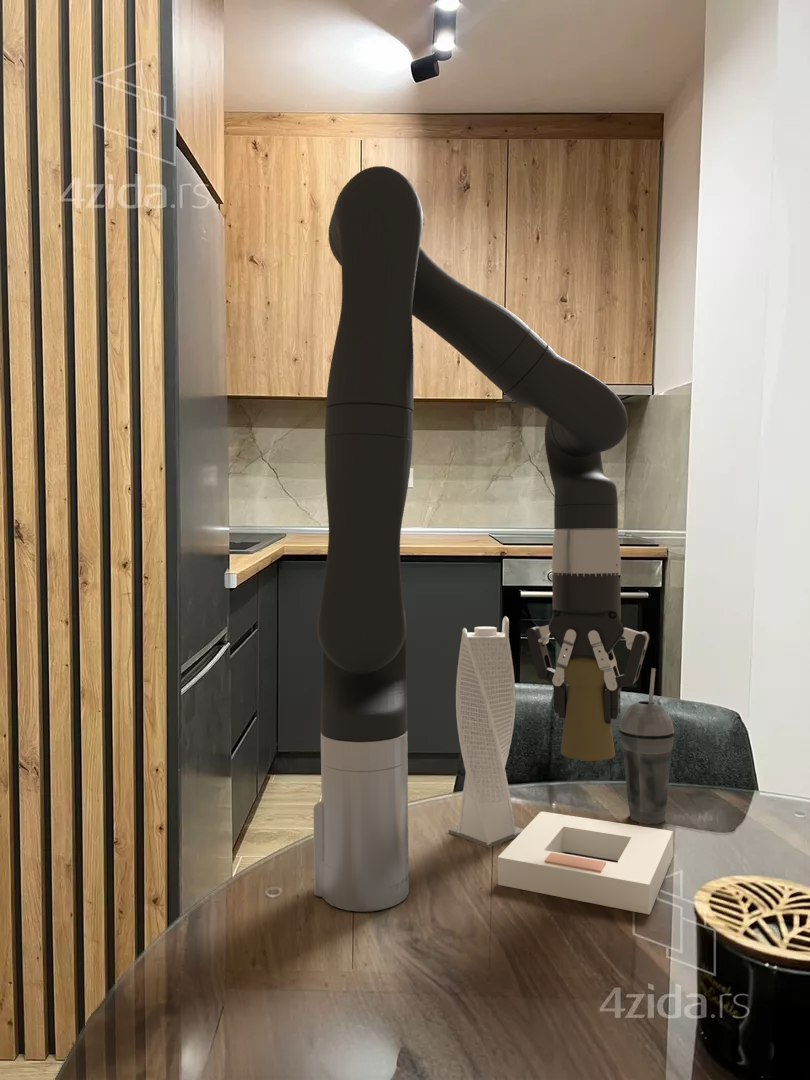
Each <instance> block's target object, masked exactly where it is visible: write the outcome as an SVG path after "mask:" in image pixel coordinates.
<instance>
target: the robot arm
mask: <svg viewBox="0 0 810 1080" xmlns="http://www.w3.org/2000/svg"><path fill="white" fill-rule="evenodd" d="M423 226H424V213H423V208H422V203H421V200H420V197H419V195H418V193H417V190H416V189H415V187H414V185H413V184H412V183H411V182H410V180H408V178H407V177H406V176H405V175H404V174H402V173H401V172H400V171H397V170H395V169H394V168H392V167H389V166H385V165H384V166H382V165H376V166H375V165H374V166H371V167H367V168H364V169H362V170H361V171H359V172H358V173H356V174H355V175H354V176H353V177H351V178H350V179H349V181H347V183H346V184H345V185H344V186H343V188H342V190H341V191H340V193H339V194H338V196H337V198H336V201H335V204H334V209H333V211H332V215H331V218H330V221H329V227H328V244H329V247H330V250H331V253H332V255H333V257H334V259H335V260H336V261H337V263H338V265H340V267H341V308H340V315H339V316H340V317H339V322H338V328H337V332H336V336H335V340H334V341H335V342H334V346H333V351H332V355H331V356H332V357H331V361H330V362H331V363H330V367H329V374H328V383H327V389H326V390H327V392H326V398H325V399H326V401H325V420H324V421H325V422H324V423H325V424H324V425H325V426H324V471H325V494H326V506H327V507H326V508H327V518H328V519H327V521H328V543H327V554H326V556H327V557H326V561H325V562H326V563H325V572H324V579H323V588H322V594H321V599H320V600H321V601H320V607H319V611H318V617H317V622H316V623H317V624H316V625H317V626H316V628H317V637H318V640H319V644H320V646H321V649H322V687H321V688H322V689H321V701H320V702H321V703H320V713H319V714H320V715H319V716H320V764H321V765H320V768H321V769H320V773H321V774H320V777H321V778H320V780H321V781H320V782H321V783H320V784H321V800H320V801H319V802H317V803H315V804H314V807H313V886H314V887H313V891H314V893H313V894H314V895H315V896H317V897H321V898H322V899H323V900H324V901H325V902H326V903H328V904H329V905H330V906H332V907H335V908H338V909H339V910H340V909H341V910H345V911H349V912H350V911H352V912H374V911H381V910H385V909H389V908H392V907H394V906H396V905H398V904H401V903H402V902H403V901H404V900H405V899H406V898H407V897H408V895H409V889H410V888H409V887H410V885H409V883H410V881H409V880H410V870H409V868H410V867H409V784H408V782H409V781H408V780H409V779H408V778H409V776H408V775H409V774H408V773H409V772H408V771H409V770H408V769H409V768H408V767H409V766H408V765H409V763H408V685H407V684H408V683H407V681H408V680H407V678H408V676H407V673H408V672H407V671H408V670H407V618H406V617H407V616H406V610H405V608H404V601H403V600H404V598H403V588H402V587H403V586H402V585H403V584H402V571H401V569H402V568H401V534H402V533H401V532H402V523H403V517H404V513H405V512H404V511H405V507H406V500H407V496H408V490H409V489H408V487H409V481H410V473H411V467H412V465H411V464H412V454H413V442H414V441H413V440H414V438H413V437H414V410H415V409H414V407H415V406H414V405H415V404H414V401H415V400H414V336H413V317H414V318H416V319H417V320H418V321H419V322H421V323H423V324H424V325H425V326H426V327H428V328H429V329H430V330H432V331H433V332H435V334H437V335H438V336H439V337H440V338H442V339H443V340H444V341H445V342H447V344H449V345H450V346H451V347H452V348H454V349H455V350H456V351H457V352H458V353H459V354H461V356H463V357H464V358H465V359H466V360H467V361H469V363H471V364H472V365H473V366H474V367H475V368H476V369H477V370H478V371H479V372H481V373H482V374H483V375H484V376H485V378H487V379H488V380H490V382H491V383H492V384H493V385H495V386H496V387H497V388H498V389H499V390H500V391H501V392H502V393H504V394H505V396H507V397H508V398H509V399H510V400H512V401H513V402H515V403H516V404H518V405H520V406H524V407H533V408H535V409H537V410H539V411H540V412H541V413H543V414H544V415H545V416H547V418H546V421H545V427H544V447H545V452H546V453H545V455H546V458H547V465H548V470H549V474H550V479H551V482H552V486H553V489H554V500H553V501H554V503H553V511H554V513H553V514H554V515H553V516H554V517H553V518H554V523H553V524H554V525H553V526H554V527H553V529H554V535H553V542H552V550H551V551H552V553H551V554H552V557H551V559H552V560H551V561H552V562H551V563H552V565H551V566H552V567H551V570H552V574H551V575H552V577H551V578H552V579H551V580H552V615H551V619H550V621H549V622H548V624H546V625H543V626H538V625H537V626H534V627H531V628H528V629H527V630H526V632H525V635H526V639H527V643H528V646H529V649H530V654H531V657H532V661H533V664H534V668H535V672H536V676H537V678H538V679H540V680H545V681H547V682H550V684H551V685H552V686H553V711H554V713H555V714H558V718H559V720H564V719H565V712H566V702H567V693H568V683H567V682H566V681H565V676H564V668H566V667H567V665H568V663H569V661H570V658H571V659H574V658H590V659H594V660H597V663H598V666H599V669H600V670H601V671H603V672H604V680H605V683H606V685H605V687H606V690H605V691H604V711H605V723H607V724H611V725H612V724H613V723H614V722H615V720H617V719H618V718H619V716H620V714H621V712H622V711H621V691H622V688H624V687H625V688H626V687H632V685H634V684H635V683H636V682H637V681H638V680H639V676H640V671H641V670H642V666H643V661H644V659H645V655H646V651H647V648H648V645H649V641H650V639H651V638H650V637H651V636H650V634H649V633H648V632H647V631H645V630H644V631H638V630H634V629H631V628H628V627H626V625H625V623H624V621H623V619H622V613H621V611H622V610H621V609H622V608H621V607H622V605H621V603H622V602H621V600H622V599H621V593H622V591H621V589H622V587H621V582H622V581H621V569H622V559H621V545H620V538H619V529H618V528H619V520H618V519H619V513H618V512H619V509H618V507H619V506H618V505H619V503H618V491H617V486H616V483H615V482H614V481H613V480H612V479H611V478H609V477H607V476H605V474H604V469H603V468H604V466H603V461H602V452H606V451H608V450H609V451H610V450H611V449H613V448H614V447H617V446H618V445H619V444H620V443H621V441H623V439H624V437H625V436H626V434H627V431H628V425H629V418H628V413H627V409H626V407H625V405H624V403H623V402H622V400H621V399H620V397H619V396H618V395H617V394H616V393H615V392H614V390H612V389H611V388H610V387H609V386H608V384H605V383H604V382H602V381H601V380H600V379H599V378H597V377H595V376H594V375H592V374H591V373H589V372H588V371H586V370H584V369H582V367H579V366H578V365H576V364H575V363H573V362H571V361H569V360H567V359H566V358H564V357H562V356H560V355H559V354H557V353H556V351H555V350H554V349H553V348H552V347H551V346H550V345H548V343H546V341H544V340H543V339H542V338H541V337H540V336H539V334H537V333H536V332H535V331H534V330H533V329H532V328H530V327H529V325H527V324H526V323H525V322H524V321H523V320H522V319H521V318H520V317H518V316H517V315H516V314H515V313H513V312H511V311H510V310H508V309H507V308H506V307H505V306H502V305H501V304H499V303H498V302H496V301H494V300H492V299H490V298H489V297H487V296H485V295H483V294H481V293H478V292H477V291H475V290H474V289H472V288H470V287H468V286H467V285H465V284H463V283H462V282H459V280H457V279H456V278H454V277H453V276H451V275H450V274H449V273H447V272H446V271H444V270H443V268H442V267H440V266H439V265H438V264H437V263H436V261H434V260H433V259H432V258H431V257H430V255H428V254H427V253H426V252H425V250H424V249H423V247H421V241H422V236H423V235H422V234H423V229H424V228H423ZM550 634H551V636H552V637H553V639H554V640H555V642H556V643H557V644H558V646H559V647H560V652H559V655H558V658H557V661H556V667H555V669H554V668H553V664H552V661H551V658H550V653H549V650H548V647H547V644H548V643H549V641H550ZM622 638H624V639H625V642H626V643H625V645H626V646H625V647H626V648H627V649H628V650H630V653H629V656H628V659H627V663H626V667H625V670H624V673H622V674H620V672H619V669H618V664H617V663H618V662H617V660H616V656H615V654H614V649H615V647H616V646H617V645H618V644H619V642H620V640H622ZM602 659H603V660H602Z"/></svg>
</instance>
